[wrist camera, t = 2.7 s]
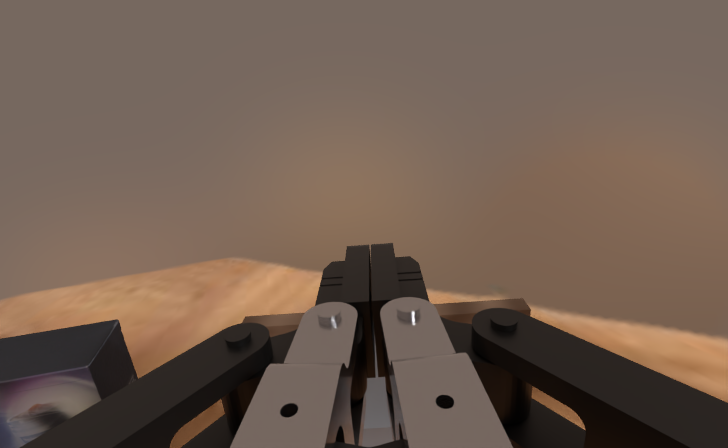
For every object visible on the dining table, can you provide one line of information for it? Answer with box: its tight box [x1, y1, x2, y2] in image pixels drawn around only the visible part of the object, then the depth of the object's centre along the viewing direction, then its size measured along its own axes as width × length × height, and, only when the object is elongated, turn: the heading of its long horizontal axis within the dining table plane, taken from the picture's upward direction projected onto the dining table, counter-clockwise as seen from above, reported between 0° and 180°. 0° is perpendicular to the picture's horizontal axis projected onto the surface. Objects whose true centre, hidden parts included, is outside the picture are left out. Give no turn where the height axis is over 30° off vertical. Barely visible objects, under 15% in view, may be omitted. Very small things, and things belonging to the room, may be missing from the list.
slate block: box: [362, 345, 393, 447], centre depth 28 cm, size 7×10×10 cm
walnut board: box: [242, 299, 531, 337], centre depth 39 cm, size 28×2×6 cm, turn 90°
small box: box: [0, 320, 138, 448], centre depth 31 cm, size 11×6×10 cm, turn 102°
